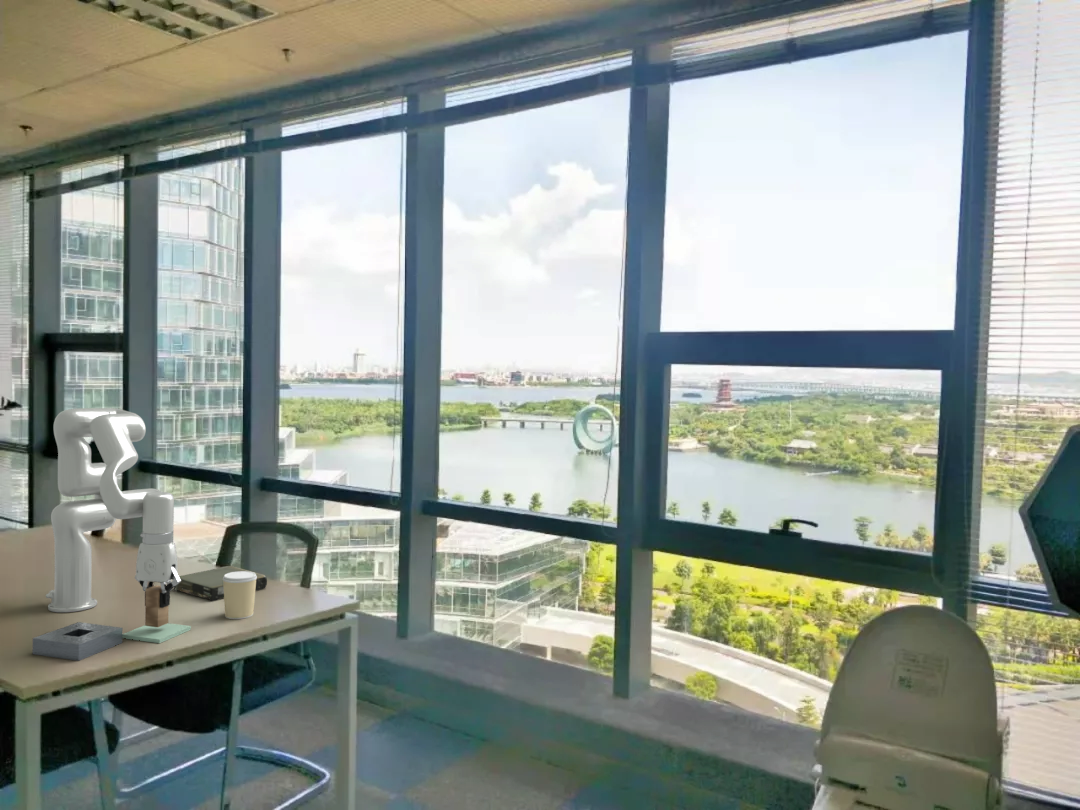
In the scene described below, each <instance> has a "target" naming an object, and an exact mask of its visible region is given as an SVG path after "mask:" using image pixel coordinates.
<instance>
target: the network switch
mask: <svg viewBox="0 0 1080 810" xmlns="http://www.w3.org/2000/svg"><path fill="white" fill-rule="evenodd" d="M238 571H249V572H254V571H251V570H248V569H244V568H240V567H236V566H233V565H232V566H230V565H226V566H221V567H217V568H212V569H209V570H203V571H198V572H192V573H188V574H187V573H186V574H183V575H178V576H179V578H180V580H181V582H180V583H179V584H177V585H175V586H174V588H173V591H179V592H181V593H182V592H183V593H185V594H187V595H189V594H190V595H191V596H194V597H200V598H204V599H206V600H209V601H210V602H216V601H219V600H221V599H224V582H223V577H224V575H225V574H227V573H231V572H238ZM254 573H255V574H256V576H257V579H256V589H255V592H258V591H262V590H266V588H267V585H268V579H267V576H266V575H265V574H262V573H258V572H254Z"/></svg>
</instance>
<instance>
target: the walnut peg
mask: <svg viewBox="0 0 1080 810" xmlns="http://www.w3.org/2000/svg"><path fill="white" fill-rule="evenodd" d="M160 593H162V591H161V585H154V586H153V587H150V588H147V589H146V606H145V605H144V607H145V613H144V615H145V617H144V618H145V619H144V623H145V626H151V627H160V626H162V625H165V624H167V623H169V607H170V604H169V605H168V606H166V607H163V608H160Z"/></svg>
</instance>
